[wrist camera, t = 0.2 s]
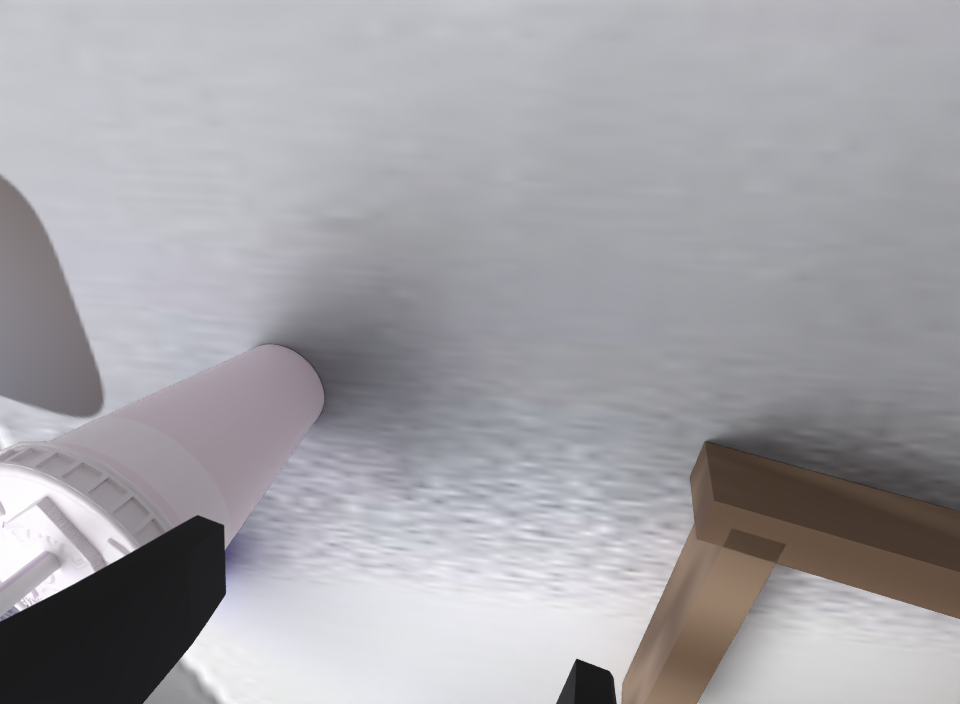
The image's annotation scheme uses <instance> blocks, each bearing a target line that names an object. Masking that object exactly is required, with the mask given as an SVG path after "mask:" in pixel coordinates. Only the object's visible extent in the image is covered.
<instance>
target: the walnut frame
mask: <svg viewBox="0 0 960 704" xmlns="http://www.w3.org/2000/svg"><path fill="white" fill-rule="evenodd" d="M690 482H691V492H692V501H693V511H694V520H695V523H694V525H693V528H692V530H691V532H690V534H689V537H688V539H687V541H686V543H685V545H684V548H683V550H682V552H681V554H680V557H679V559H678V561H677V563H676V565H675V568H674V570H673V572H672V574H671V577H670V579H669V581H668V583H667V585H666V588H665V590H664V592H663V594H662V597H661V599H660V601H659V603H658V605H657V608H656V610H655V612H654V614H653V617H652V619H651V621H650V623H649V625H648V628H647V630H646V632H645V634H644V637H643V639H642V641H641V643H640V645H639V648H638V650H637V652H636V654H635V657H634V659H633V661H632V663H631V666H630V668H629V670H628V672H627V674H626V677H625V679H624V681H623V683H622V703H621V704H697V702H698V700H699V698H700V697H701V695H702V693H703V691H704V690H705V688H706V686H707V684H708V682H709V681H710V679H711V677H712V675H713V674H714V672H715V670H716V668H717V667H718V665H719V663H720V661H721V660H722V658H723V656H724V654H725V652H726V651H727V649H728V647H729V645H730V644H731V642H732V640H733V638H734V637H735V635H736V633H737V631H738V629H739V628H740V626H741V624H742V622H743V621H744V619H745V617H746V615H747V614H748V612H749V610H750V608H751V607H752V605H753V603H754V601H755V599H756V598H757V596H758V594H759V592H760V591H761V589H762V587H763V585H764V584H765V582H766V580H767V578H768V577H769V575H770V573H771V571H772V569H773V568H774V566H775V564H776V563H777V564H780V565H784V566H787V567H790V568H794V569H797V570H800V571H803V572H807V573H810V574H813V575H817V576H820V577H823V578H826V579H830V580H833V581H836V582H840V583H843V584H846V585H850V586H853V587H856V588H859V589H863V590H866V591H869V592H873V593H876V594H879V595H882V596H886V597H889V598H892V599H896V600H899V601H902V602H906V603H909V604H912V605H915V606H919V607H922V608H925V609H929V610H932V611H935V612H939V613H942V614H945V615H948V616H952V617H955V618H958V619H960V512H959V511H955V510H951V509H948V508H944V507H940V506H937V505H933V504H929V503H926V502H922V501H919V500H915V499H911V498H908V497H904V496H900V495H897V494H893V493H890V492H886V491H882V490H879V489H875V488H871V487H868V486H864V485H860V484H857V483H853V482H850V481H846V480H842V479H839V478H835V477H831V476H828V475H824V474H820V473H817V472H813V471H810V470H806V469H802V468H799V467H795V466H791V465H788V464H784V463H781V462H777V461H773V460H770V459H766V458H762V457H759V456H755V455H751V454H748V453H744V452H741V451H737V450H733V449H730V448H726V447H722V446H719V445H715V444H711V443H708V442H705V443H704V445H703V447H702V450H701V452H700V454H699V457H698V459H697V461H696V464H695V466H694V469H693V471H692V473H691V476H690Z"/></svg>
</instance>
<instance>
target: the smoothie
mask: <svg viewBox="0 0 960 704" xmlns="http://www.w3.org/2000/svg"><path fill="white" fill-rule="evenodd" d="M323 406H324V390H323V386H322V383H321V381H320V379H319V377H318V375H317V373H316V372H315V370H314V369H313V367H312V366H311V365H310V364H309V363H308V362H307V361H306V360H305V359H304V358H303V357H302V356H300V355H299V354H297V353H296V352H294V351H292V350H290V349H288V348H286V347H283V346H279V345H272V344H267V345H261V346H258V347H255V348H253V349H251V350H249V351H247V352H244V353H242V354H240V355H238V356H236V357H233V358H231V359H229V360H227V361H225V362H222V363H220V364H218V365H216V366H214V367H211V368H209V369H207V370H205V371H203V372H200V373H198V374H196V375H194V376H192V377H189V378H187V379H185V380H183V381H181V382H178V383H176V384H174V385H172V386H170V387H167V388H165V389H163V390H161V391H159V392H156V393H154V394H152V395H150V396H148V397H145V398H143V399H141V400H139V401H137V402H134V403H132V404H130V405H128V406H126V407H123V408H121V409H119V410H117V411H115V412H112V413H110V414H108V415H106V416H104V417H101V418H99V419H97V420H94V421H91V422H89V423H87V424H85V425H83V426H81V427H79V428H77V429H74V430H72V431H70V432H68V433H66V434H64V435H62V436H60V437H58V438H55V439H53V440H51V441H49V442H47V441H35V442H19V443H17V444H15V445H12V446H10V447H8V448H5V449H3V450H1V451H0V617H1V616H2V615H3V614H4V613H6V612H7V611H8V610H9V609H11V608H12V607H13V606H15V607H16V608H17V609H18V610H19V611H22V610H24V609H26V608H28V607H30V606H32V605H34V604H36V603H38V602H40V601H42V600H44V599H46V598H48V597H50V596H52V595H54V594H56V593H58V592H59V591H61V590H63V589H65V588H67V587H69V586H71V585H73V584H74V583H76V582H78V581H80V580H82V579H84V578H85V577H87V576H89V575H91V574H93V573H95V572H96V571H98V570H100V569H102V568H104V567H106V566H107V565H109V564H111V563H113V562H115V561H117V560H118V559H120V558H122V557H124V556H125V555H127V554H129V553H131V552H133V551H134V550H136V549H138V548H140V547H141V546H143V545H145V544H147V543H148V542H150V541H152V540H154V539H155V538H157V537H159V536H161V535H162V534H164V533H166V532H168V531H169V530H171V529H173V528H175V527H176V526H178V525H180V524H182V523H183V522H185V521H187V520H189V519H191V518H192V517H194V516H197V515H199V516H202V517H204V518H207V519H210V520H212V521H215V522H217V523H220V524H223V525H224V534H225V550H226V548H227V546H228V545H229V543H230V542H231V541H232V539H233V538H234V536H235V535H236V533H237V532H238V531H239V529H240V528H241V526H242V525H243V523H244V522H245V521H246V519H247V518H248V516H249V515H250V514H251V512H252V511H253V509H254V508H255V506H256V505H257V504H258V502H259V501H260V499H261V498H262V496H263V495H264V494H265V492H266V491H267V489H268V488H269V486H270V485H271V484H272V482H273V481H274V479H275V478H276V476H277V475H278V474H279V472H280V471H281V469H282V468H283V467H284V465H285V464H286V462H287V461H288V459H289V458H290V457H291V455H292V454H293V452H294V451H295V449H296V448H297V447H298V445H299V444H300V442H301V441H302V439H303V438H304V437H305V435H306V434H307V432H308V431H309V429H310V428H311V427H312V425H313V424H314V422H315V421H316V419H317V418H318V417H319V415H320V414H321V412H322V409H323Z"/></svg>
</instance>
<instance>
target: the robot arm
mask: <svg viewBox="0 0 960 704" xmlns="http://www.w3.org/2000/svg"><path fill="white" fill-rule="evenodd" d="M225 594H226V578H225V534H224V525H223V524H220V523H217V522H215V521H212V520H210V519H207V518H204V517H202V516H199V515H197V516H194V517H192V518H191V519H189V520H187V521H185V522H183V523H182V524H180V525H178V526H176V527H175V528H173V529H171V530H169V531H168V532H166V533H164V534H162V535H161V536H159V537H157V538H155V539H154V540H152V541H150V542H148V543H147V544H145V545H143V546H141V547H140V548H138V549H136V550H134V551H133V552H131V553H129V554H127V555H125V556H124V557H122V558H120V559H118V560H117V561H115V562H113V563H111V564H109V565H107V566H106V567H104V568H102V569H100V570H98V571H96V572H95V573H93V574H91V575H89V576H87V577H85V578H84V579H82V580H80V581H78V582H76V583H74V584H73V585H71V586H69V587H67V588H65V589H63V590H61V591H59V592H58V593H56V594H54V595H52V596H50V597H48V598H46V599H44V600H42V601H40V602H38V603H36V604H34V605H32V606H30V607H28V608H26V609H24V610H22V611H20V612H18V613H16V614H14V615H12V616H10V617H8V618H6V619H4V620H2V621H0V704H143V703H144V701H145V700H146V699H147V698H148V697H149V695H150V694H151V693H152V692H153V691H154V690H155V688H156V687H157V686H158V685H159V684H160V682H161V681H162V680H163V679H164V678H165V676H166V675H167V674H168V673H169V672H170V670H171V669H172V668H173V667H174V666H175V664H176V663H177V662H178V661H179V660H180V658H181V657H182V656H183V655H184V653H185V652H186V651H187V650H188V649H189V647H190V646H191V645H192V644H193V642H194V641H195V639H196V638H197V636H198V635H199V634H200V632H201V631H202V629H203V628H204V626H205V625H206V623H207V622H208V620H209V619H210V617H211V616H212V614H213V613H214V611H215V610H216V608H217V607H218V605H219V604H220V602H221V601H222V599H223V598H224V596H225ZM556 704H617V703H616V696H615V687H614V678H613V676H612V674H611V673H610V671H608V670H605V669H602V668H600V667H597V666H595V665H592V664H589V663H587V662H584V661H581V660H579V659H576V661H575V663H574V665H573V667H572V670H571V672H570V674H569V676H568V678H567V681H566V683H565V685H564V687H563V690H562V692H561V694H560V696H559V699H558V701H557V703H556Z"/></svg>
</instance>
